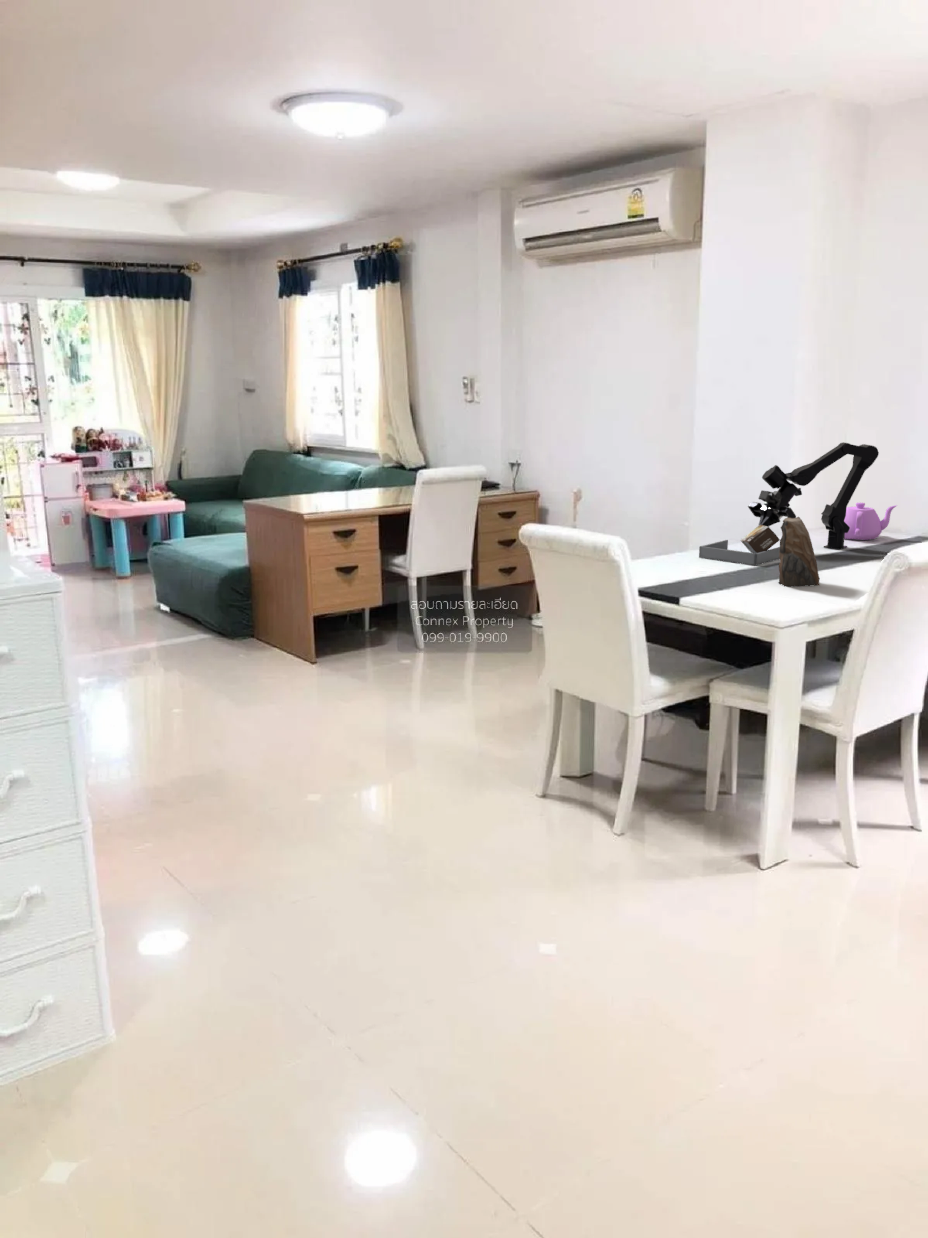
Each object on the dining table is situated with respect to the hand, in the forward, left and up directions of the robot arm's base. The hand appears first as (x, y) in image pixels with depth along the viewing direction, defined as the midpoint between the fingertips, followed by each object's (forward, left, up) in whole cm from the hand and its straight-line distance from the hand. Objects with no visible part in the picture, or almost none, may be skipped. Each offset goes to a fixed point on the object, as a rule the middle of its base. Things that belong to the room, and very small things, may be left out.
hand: (758, 529), depth 353 cm
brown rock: (+39, +35, -8) cm, 53 cm away
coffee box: (+1, 0, -3) cm, 3 cm away
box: (+14, +1, -8) cm, 16 cm away
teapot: (-54, +16, -9) cm, 57 cm away
